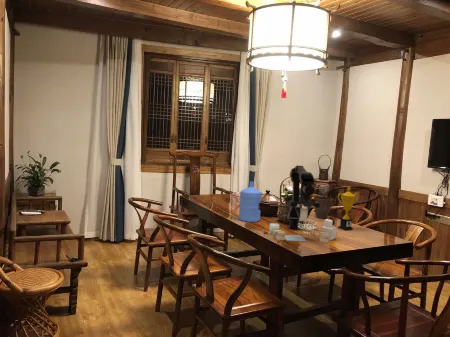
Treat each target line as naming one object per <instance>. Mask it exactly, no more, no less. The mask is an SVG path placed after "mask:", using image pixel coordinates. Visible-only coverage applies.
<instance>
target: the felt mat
mask: <svg viewBox="0 0 450 337" xmlns="http://www.w3.org/2000/svg"><path fill="white" fill-rule="evenodd" d="M285 241H287V242H307V240H306V239H305V238H304V237H303V236H302V235H301V234H300V235H299V234H285Z"/></svg>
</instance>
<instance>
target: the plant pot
mask: <svg viewBox="0 0 450 337" xmlns="http://www.w3.org/2000/svg"><path fill="white" fill-rule="evenodd" d="M313 199H315V200H316V201H315V202H318V203H320V208H318V207H315V206H314V208H315V209H314V212H315V216H316V218H317V219H318V220H319V219H321V220H325V219H328V216H329V214H330V211H331V209H332V206H333V202H334V198H333V197H329V196H320V195H319V196H318V195H315V196H313Z"/></svg>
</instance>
